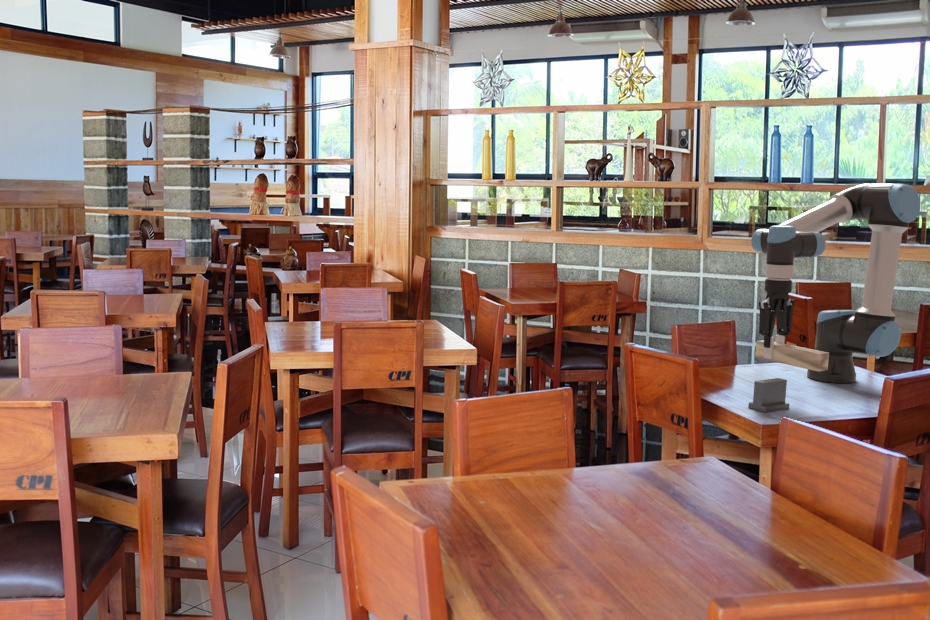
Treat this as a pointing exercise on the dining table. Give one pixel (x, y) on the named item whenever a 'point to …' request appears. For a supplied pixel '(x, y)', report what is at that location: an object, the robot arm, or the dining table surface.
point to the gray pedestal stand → (769, 395)
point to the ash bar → (795, 356)
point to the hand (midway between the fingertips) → (773, 357)
